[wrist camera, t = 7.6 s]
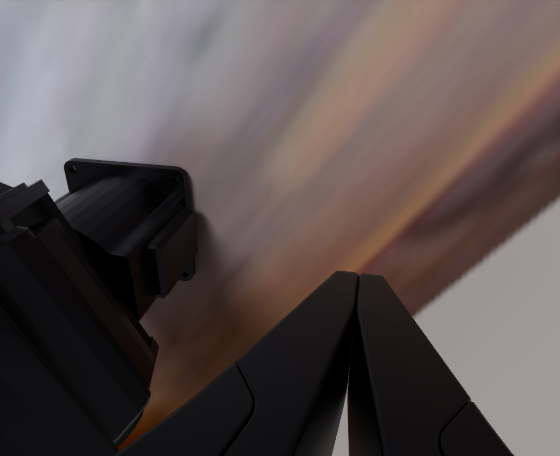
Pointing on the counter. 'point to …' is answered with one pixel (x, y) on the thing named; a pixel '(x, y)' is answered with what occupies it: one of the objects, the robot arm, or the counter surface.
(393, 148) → the counter surface
